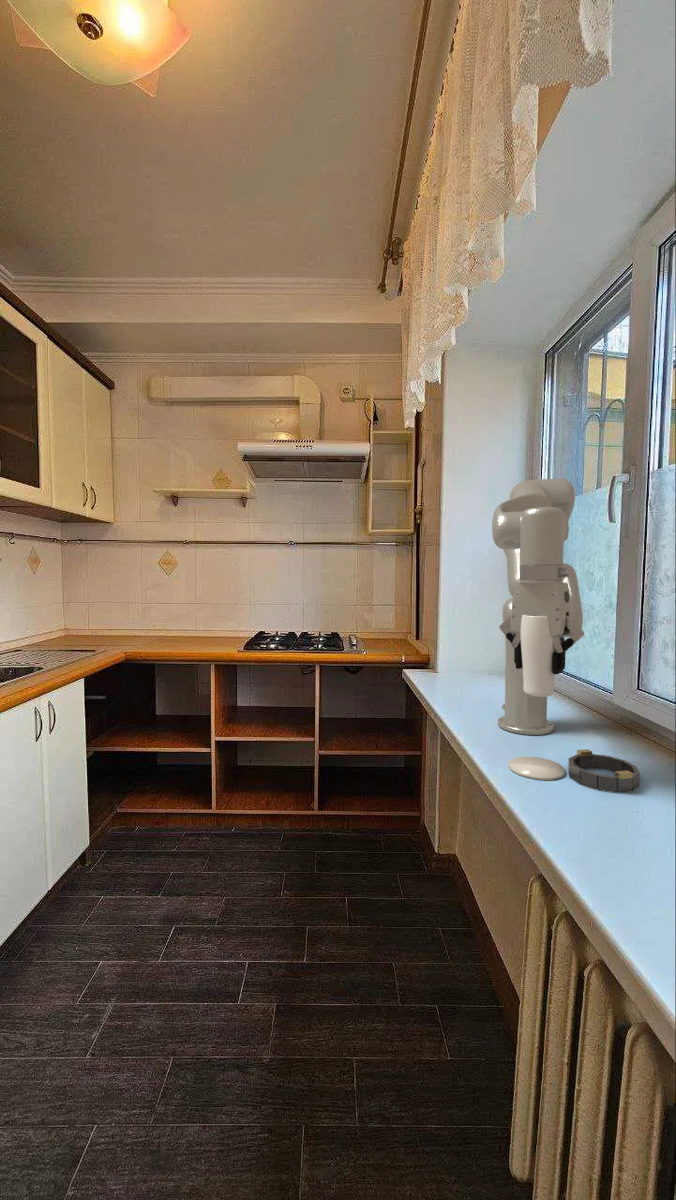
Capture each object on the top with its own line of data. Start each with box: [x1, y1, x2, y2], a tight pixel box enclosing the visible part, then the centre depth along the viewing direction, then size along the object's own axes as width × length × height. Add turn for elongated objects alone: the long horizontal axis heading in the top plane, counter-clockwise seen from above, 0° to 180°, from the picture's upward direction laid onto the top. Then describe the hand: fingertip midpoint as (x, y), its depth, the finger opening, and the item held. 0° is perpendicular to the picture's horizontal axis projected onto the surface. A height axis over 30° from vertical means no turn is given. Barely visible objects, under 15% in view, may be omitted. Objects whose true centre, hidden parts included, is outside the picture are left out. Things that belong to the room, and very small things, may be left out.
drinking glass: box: [520, 615, 556, 697], centre depth 95 cm, size 7×7×15 cm
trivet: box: [508, 756, 566, 781], centre depth 96 cm, size 10×10×1 cm
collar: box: [567, 748, 641, 793], centre depth 92 cm, size 12×11×3 cm
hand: (538, 669), depth 95 cm, fingers closed on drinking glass, 6 cm apart
